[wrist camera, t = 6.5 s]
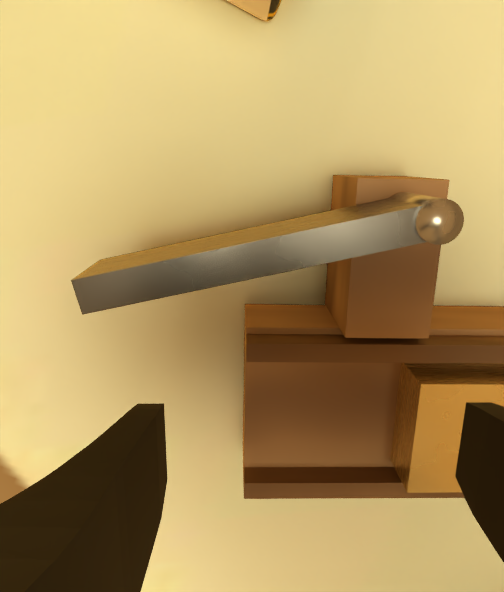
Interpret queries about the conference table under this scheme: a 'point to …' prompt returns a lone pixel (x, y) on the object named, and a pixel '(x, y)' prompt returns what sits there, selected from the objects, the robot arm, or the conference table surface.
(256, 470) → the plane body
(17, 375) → the conference table surface
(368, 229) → the lever
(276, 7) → the medicine bottle
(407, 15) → the conference table surface
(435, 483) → the wooden block
